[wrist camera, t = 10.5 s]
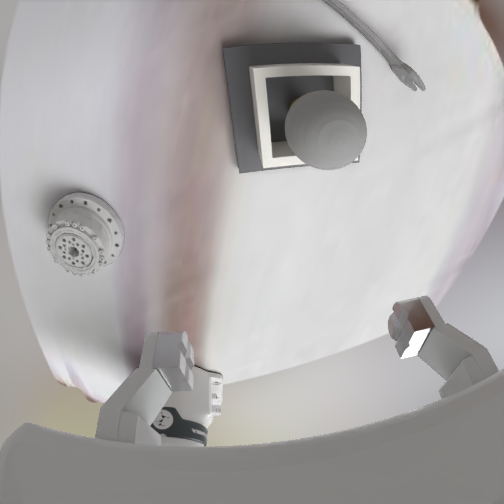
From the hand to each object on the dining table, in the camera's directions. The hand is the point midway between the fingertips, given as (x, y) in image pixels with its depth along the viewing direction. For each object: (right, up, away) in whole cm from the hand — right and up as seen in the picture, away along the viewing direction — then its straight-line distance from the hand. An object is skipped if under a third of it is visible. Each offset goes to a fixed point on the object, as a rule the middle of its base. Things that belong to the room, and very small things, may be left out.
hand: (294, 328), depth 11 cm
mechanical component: (-21, +6, +20) cm, 30 cm away
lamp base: (+2, +16, +13) cm, 21 cm away
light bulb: (+2, +16, +13) cm, 20 cm away
